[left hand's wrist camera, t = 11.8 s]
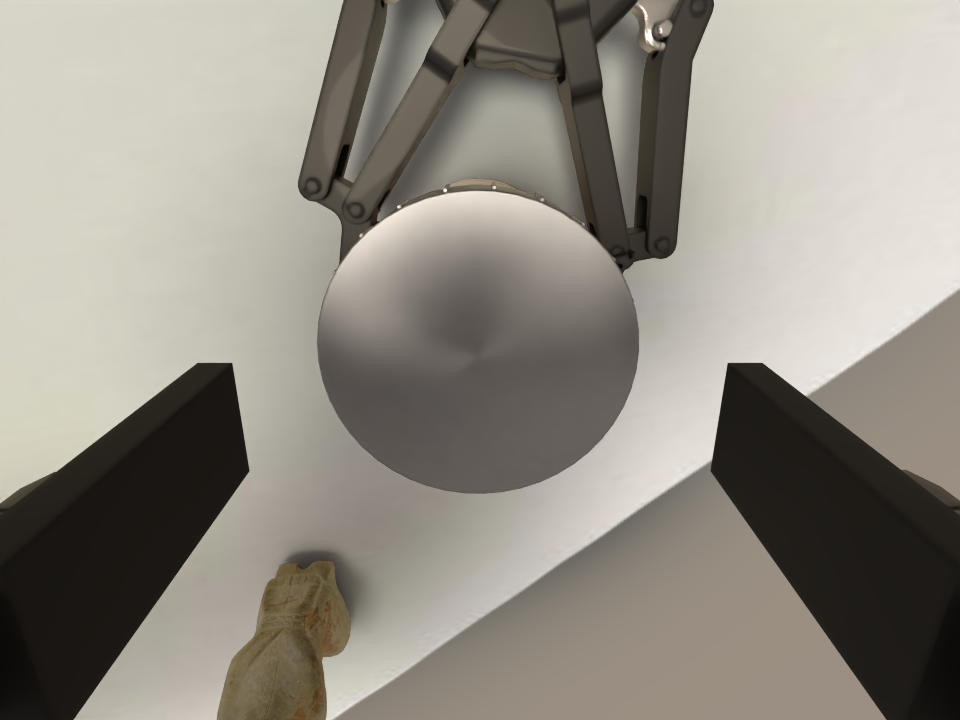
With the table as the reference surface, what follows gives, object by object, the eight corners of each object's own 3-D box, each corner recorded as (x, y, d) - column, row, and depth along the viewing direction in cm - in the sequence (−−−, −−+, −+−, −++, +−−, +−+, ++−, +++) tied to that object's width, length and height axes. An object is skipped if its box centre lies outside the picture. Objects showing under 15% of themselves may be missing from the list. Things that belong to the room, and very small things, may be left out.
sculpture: (281, 632, 41) (176, 890, 27) (265, 547, 38) (140, 783, 24) (363, 630, 41) (303, 887, 27) (352, 545, 38) (279, 780, 24)
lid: (333, 448, 21) (316, 483, 18) (335, 166, 17) (314, 169, 15) (596, 470, 21) (610, 507, 19) (648, 197, 18) (671, 204, 15)
